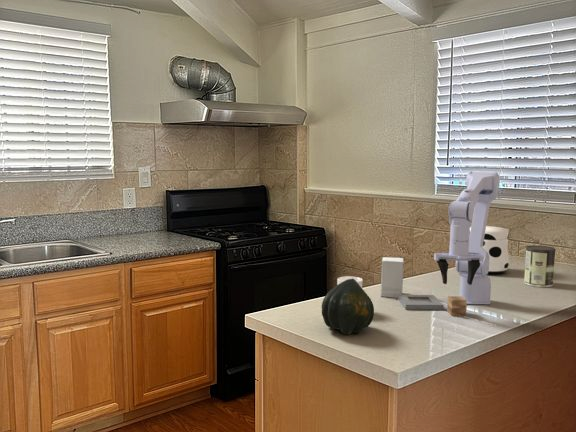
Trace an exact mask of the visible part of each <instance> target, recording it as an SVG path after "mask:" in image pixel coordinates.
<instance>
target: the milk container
mask: <svg viewBox="0 0 576 432" xmlns="http://www.w3.org/2000/svg"><path fill="white" fill-rule="evenodd" d="M470 231H471V226H470ZM509 233H510V232H509V229H508V228H504V227H500V226H494V225H493V226H490V225H486V230H485V236H484V241H483V247H482V248H484V249H485V250H486V251H487V252H488V254H489V256H490V259H489V271H488V274H500V273H505V272H506V271H508V269H509V266H510V255H509V251H508V250H509V237H510V234H509Z"/></svg>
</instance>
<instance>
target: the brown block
mask: <svg viewBox="0 0 576 432" xmlns="http://www.w3.org/2000/svg"><path fill="white" fill-rule="evenodd" d="M467 305H468V304H467V300H466V299H465V298H463V297H462V296H460V295H459V296H458V295H457V296H454V295H453V296H451V295H450V296H449V295H448V296H447V305H446V307H447V309H446V312H447V313H448V314H449V315H450V316H451V317H466V316H467Z"/></svg>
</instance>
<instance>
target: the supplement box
mask: <svg viewBox="0 0 576 432" xmlns="http://www.w3.org/2000/svg"><path fill="white" fill-rule="evenodd" d="M404 263H405V262H404V257H390V256H388V257H386V256H383V257H382V260H381V274H380V275H381V278H380V279H381V281H380V297H384V298H397V299H398V295H403V284H404V283H403V282H404Z"/></svg>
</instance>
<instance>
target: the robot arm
mask: <svg viewBox="0 0 576 432" xmlns="http://www.w3.org/2000/svg"><path fill="white" fill-rule="evenodd" d="M465 179H466V180H465V187H466V188H465V189H463V190H462V191H461V192H460V194H459V195H458V197H457V198H456V200H453V201H452V202H450V203H449V205H448V211H447V212H448V220H449V221H448V224H449V226H450V231H449V248H448V249H449V251H448V252H444V253H443V252H441V253H439V252H437V253H436V252H435V253H434V255H433V260H434V261H436V263H437V265H438V267H439V271H440V273H441V279H442V284H444V285H447V283H448V271H449V265H450V264H449V263H448V261H455V271H456V272H457V273H458V275H459V276H460V279H459V296H462V297H463V298H465V299H466V300H467V304H466V305H492V304H491V303H492V302H491V291H492V281H491V278H490V276H489V275H488V274H489V273H488V271H489V259H490V256H489V254H488V252H487V251H486V250H485V249H484V248H482V247H483V241H484V236H485V230H486V226H487V224H488V217H489V211H490V207H491V203H492V202H493V201H494V200H496V199H497V197H498V195H499V188H500V174H499V173H498V172H496V171H495V172H487V171H486V172H483V171H482V172H481V171H471V170H470V171H469V172H468V173H467V175H466V177H465ZM470 227H471V231H470Z"/></svg>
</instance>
